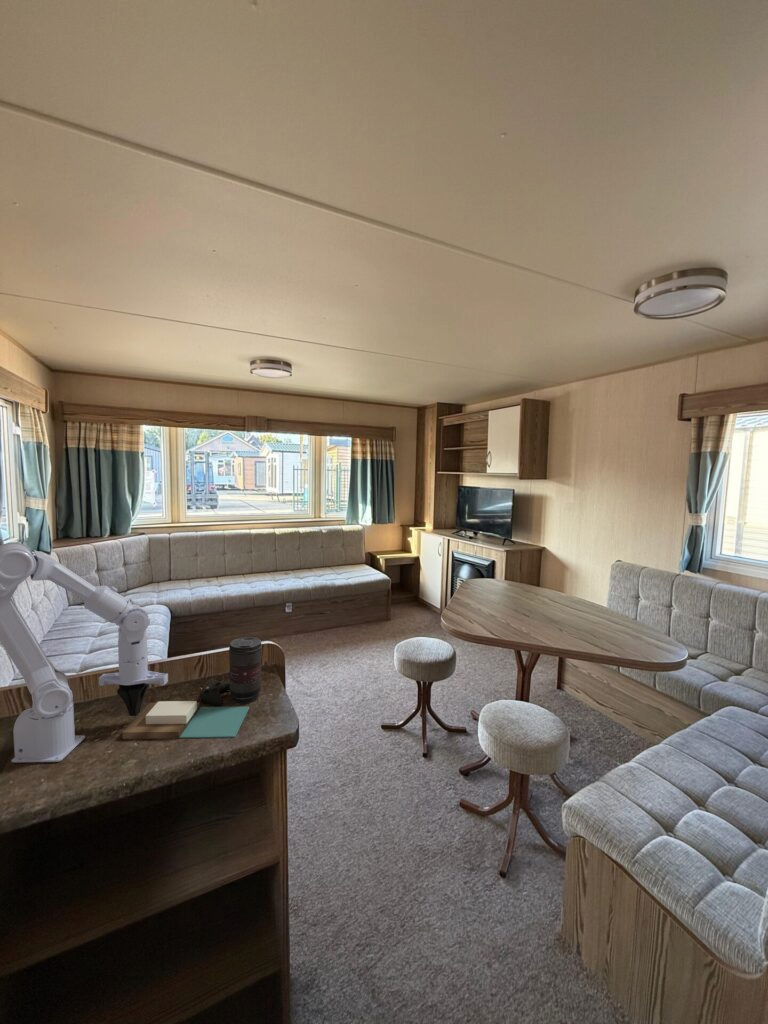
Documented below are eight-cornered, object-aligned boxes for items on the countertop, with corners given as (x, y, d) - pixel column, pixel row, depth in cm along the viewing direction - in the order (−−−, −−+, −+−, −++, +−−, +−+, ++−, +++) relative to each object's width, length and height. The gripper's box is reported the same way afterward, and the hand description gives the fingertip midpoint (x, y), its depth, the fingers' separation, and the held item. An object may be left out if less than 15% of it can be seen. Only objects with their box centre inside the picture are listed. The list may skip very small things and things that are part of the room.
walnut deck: (122, 738, 92) (122, 732, 92) (150, 708, 104) (149, 702, 104) (178, 738, 92) (178, 731, 92) (199, 708, 104) (199, 702, 104)
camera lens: (261, 703, 107) (261, 646, 106) (227, 707, 105) (227, 649, 104) (262, 688, 115) (262, 634, 114) (231, 691, 113) (230, 637, 111)
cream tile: (145, 724, 95) (145, 715, 95) (158, 709, 101) (158, 701, 101) (186, 723, 95) (186, 715, 95) (196, 709, 101) (196, 701, 101)
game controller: (223, 704, 105) (206, 688, 105) (208, 718, 105) (191, 702, 105) (237, 685, 114) (222, 670, 114) (224, 698, 115) (208, 683, 115)
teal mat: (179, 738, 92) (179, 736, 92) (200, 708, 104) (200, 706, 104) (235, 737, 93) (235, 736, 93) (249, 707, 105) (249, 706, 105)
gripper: (173, 649, 101) (174, 703, 102) (110, 650, 100) (112, 704, 101) (159, 663, 94) (160, 720, 95) (91, 663, 93) (94, 721, 94)
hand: (134, 713), depth 98 cm, fingers closed
